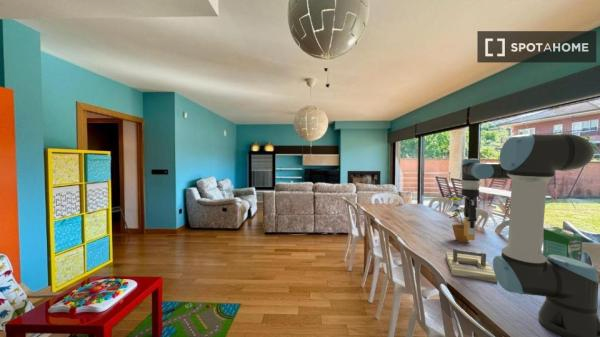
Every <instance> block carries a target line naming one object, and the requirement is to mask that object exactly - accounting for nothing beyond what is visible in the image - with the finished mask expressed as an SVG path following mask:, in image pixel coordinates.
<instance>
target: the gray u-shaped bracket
mask: <svg viewBox="0 0 600 337" xmlns="http://www.w3.org/2000/svg"><path fill="white" fill-rule="evenodd" d="M452 253H453V261H456V262H457V254H463V255H471V256H479V257H481V265H484V266H486V261H487V253H486V252H481V251H473V250H464V249H458V248H453V249H452Z"/></svg>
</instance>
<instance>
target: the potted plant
mask: <svg viewBox="0 0 600 337" xmlns="http://www.w3.org/2000/svg"><path fill="white" fill-rule="evenodd" d="M448 200H449V201H452V202H455V204H457V202H458V201H459V202H460V201H462V198H461V197H458V196H451V197H448ZM455 207H456V209H454V210H453V211H452V213H455V215H452V216H450V217H449V219H453V218H454V217H457V216H458V215H459V216H460V220H461V224H452V225H451V226H452V227H451V228H452V229H453V234H454V237H455V241H456V240H457V242H459V241H460V243H469V241H470V240H467V236H465V235H464V223H463V221H464V218H465V217H464V218H462V216H461V213H460V212H461V210H460V209H459V208H458V207H457V205H455ZM457 212H458V214H457ZM472 219H473V218H472ZM476 221H478V218H477V217H476Z"/></svg>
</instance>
